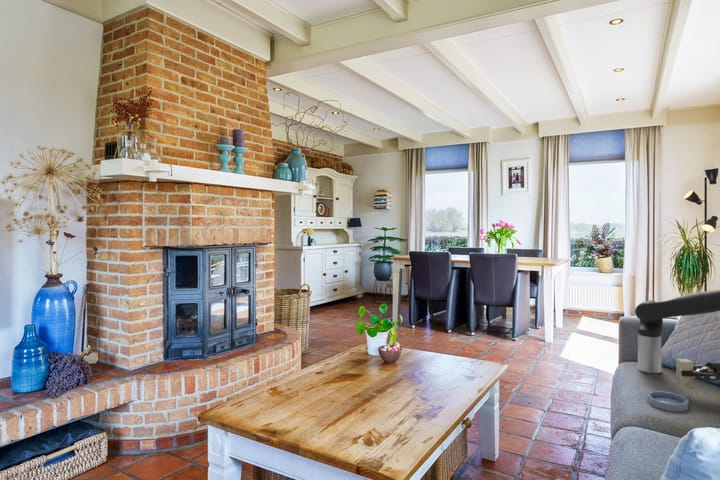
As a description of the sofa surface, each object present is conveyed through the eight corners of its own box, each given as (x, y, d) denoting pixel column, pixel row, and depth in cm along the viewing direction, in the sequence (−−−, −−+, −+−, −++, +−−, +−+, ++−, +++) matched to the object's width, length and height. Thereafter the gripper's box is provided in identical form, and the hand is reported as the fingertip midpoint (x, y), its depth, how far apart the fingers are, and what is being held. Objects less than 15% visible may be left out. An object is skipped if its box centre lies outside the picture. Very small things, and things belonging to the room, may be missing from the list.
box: (693, 389, 174) (694, 362, 173) (681, 389, 175) (682, 362, 174) (686, 384, 179) (687, 358, 178) (675, 383, 180) (675, 357, 179)
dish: (641, 396, 177) (641, 390, 177) (675, 397, 176) (675, 391, 176) (658, 410, 165) (658, 404, 164) (695, 411, 163) (695, 405, 163)
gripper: (711, 356, 181) (667, 356, 183) (736, 368, 167) (688, 368, 169) (711, 373, 182) (667, 373, 184) (735, 387, 167) (688, 386, 170)
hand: (677, 370), depth 177 cm, fingers closed on box, 5 cm apart
